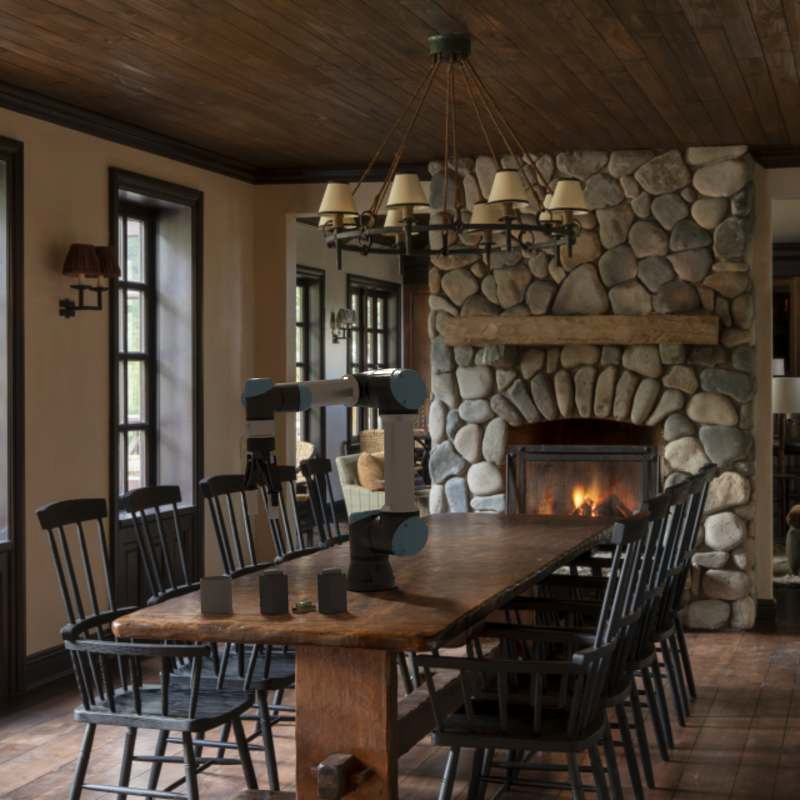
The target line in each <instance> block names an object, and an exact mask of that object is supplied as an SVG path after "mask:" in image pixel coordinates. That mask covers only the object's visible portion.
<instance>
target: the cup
mask: <svg viewBox="0 0 800 800" xmlns="http://www.w3.org/2000/svg"><path fill="white" fill-rule="evenodd" d="M232 581H233V580H232V576H229V575H212V576H205V577H201V578H199V587H200V588H199V590H200V591H199V592H200V613H202V614H208V615H218V614H225V613H226V614H227V613H230V612H232V611H234V610H233V609H234V607H233V587H232V586H233V584H232V583H233V582H232Z"/></svg>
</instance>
